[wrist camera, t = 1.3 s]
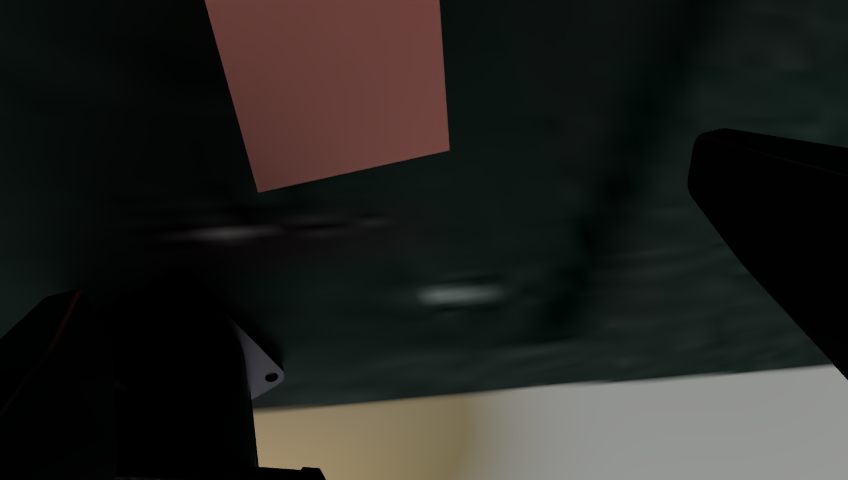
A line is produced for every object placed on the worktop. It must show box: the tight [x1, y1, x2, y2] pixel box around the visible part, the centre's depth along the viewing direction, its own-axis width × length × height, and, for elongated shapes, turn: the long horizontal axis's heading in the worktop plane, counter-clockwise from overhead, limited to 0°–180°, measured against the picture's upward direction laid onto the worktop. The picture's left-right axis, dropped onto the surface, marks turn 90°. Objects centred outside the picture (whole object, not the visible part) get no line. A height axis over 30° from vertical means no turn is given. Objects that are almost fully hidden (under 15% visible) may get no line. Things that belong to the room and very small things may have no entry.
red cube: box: [205, 0, 449, 193], centre depth 16 cm, size 5×5×5 cm
